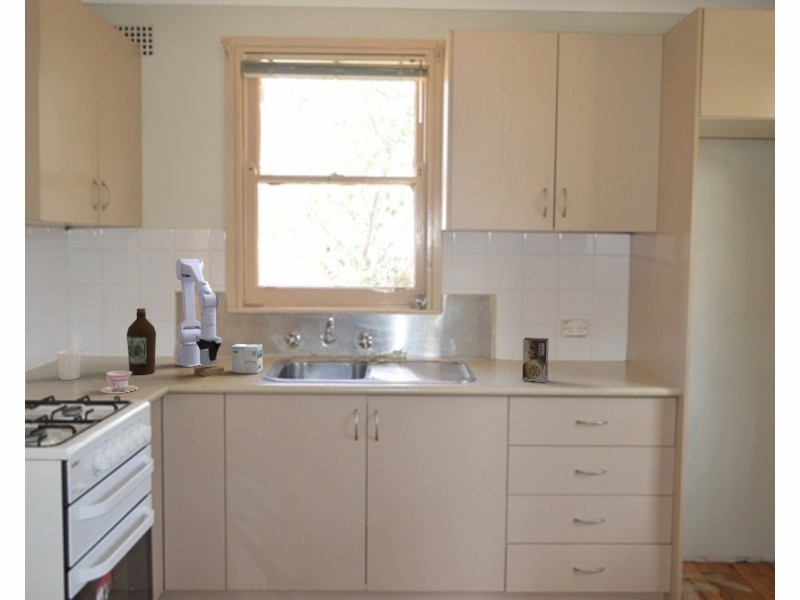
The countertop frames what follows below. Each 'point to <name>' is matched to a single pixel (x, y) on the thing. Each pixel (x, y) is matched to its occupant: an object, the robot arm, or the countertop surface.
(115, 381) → the teacup
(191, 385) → the countertop surface
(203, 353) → the blue grey block
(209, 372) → the walnut block
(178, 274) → the robot arm
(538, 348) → the coffee box
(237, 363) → the light bulb box
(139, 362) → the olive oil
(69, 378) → the white cup
